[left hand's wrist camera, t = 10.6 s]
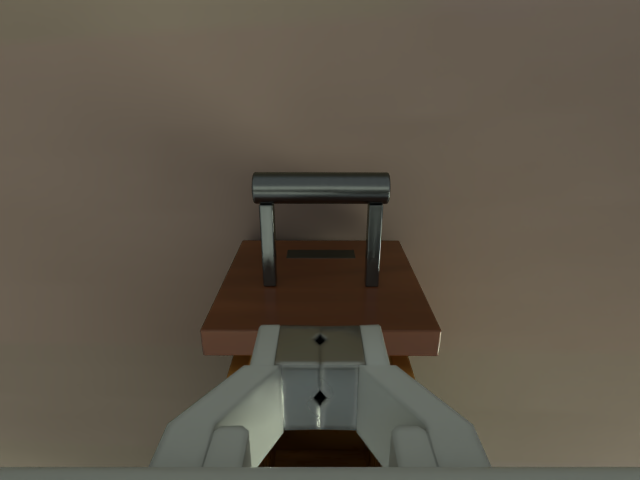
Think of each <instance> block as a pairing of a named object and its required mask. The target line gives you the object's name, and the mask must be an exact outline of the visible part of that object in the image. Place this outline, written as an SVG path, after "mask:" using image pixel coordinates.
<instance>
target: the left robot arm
mask: <svg viewBox="0 0 640 480" xmlns="http://www.w3.org/2000/svg"><path fill="white" fill-rule="evenodd" d="M317 429H322V430H357V433H358V435H359V436H360V437H361V439H362V440H363V441H364V443H365V444H366V445H367V447H368V448H369V449H370V451H371V452H372V453H373V455H374V456H375V457H376V459H377V460H378V461H379V463H380V464H381V465H382V467H258V466H259V464H260V463H261V462H262V460H263V459H264V458H265V456H266V455H267V454H268V452H269V451H270V450H271V448H272V447H273V446H274V444H275V443H276V442H277V441H278V439H279V438H280V437H281V435H282V434H283V433H284V432H283V430H317ZM0 480H640V467H491V465H490V463H489V460H488V458H487V456H486V453H485V451H484V449H483V447H482V444H481V442H480V440H479V437H478V435H477V433H476V431H475V428H474V426H473V424H472V423H470V422H469V421H468V420H466V419H465V418H464V417H462V416H461V415H460V414H459V413H457V412H456V411H455V410H453V409H452V408H451V407H450V406H448V405H447V404H446V403H444V402H443V401H442V400H440V399H439V398H438V397H437V396H435V395H434V394H433V393H431V392H430V391H429V390H427V389H426V388H425V387H424V386H422V385H421V384H420V383H418V382H417V381H416V380H415V379H413V378H412V377H411V376H409V375H408V374H407V373H405V372H404V371H403V370H402V369H400V368H399V367H398V366H396V365H390V362H389V358H388V354H387V350H386V346H385V342H384V338H383V334H382V330H381V326H380V325H379V324H378V325H355V326H311V325H281V326H280V325H261V326H260V327H259V329H258V334H257V338H256V342H255V346H254V350H253V354H252V358H251V362H250V365H244V366H242V367H241V368H240V369H238V370H237V371H236V372H235V373H233V374H232V375H231V376H229V377H228V378H227V379H225V380H224V381H223V382H222V383H220V384H219V385H218V386H216V387H215V388H214V389H212V390H211V391H210V392H209V393H207V394H206V395H205V396H203V397H202V398H201V399H199V400H198V401H197V402H195V403H194V404H193V405H192V406H190V407H189V408H188V409H186V410H185V411H184V412H182V413H181V414H180V415H179V416H177V417H176V418H175V419H173V420H172V421H171V422H169V423H168V424H167V426H166V429H165V431H164V433H163V435H162V438H161V440H160V442H159V444H158V447H157V449H156V451H155V454H154V456H153V458H152V460H151V463H150V465H149V467H0Z"/></svg>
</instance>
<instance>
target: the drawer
mask: <svg viewBox="0 0 640 480" xmlns="http://www.w3.org/2000/svg"><path fill="white" fill-rule="evenodd" d="M252 196H253V201H254V203H256V204H260V205H259V214H260V233H261V240H244V241H242V243H241V245H240V248H239V250H238V252H237V254H236V256H235V258H234V260H233V262H232V265H231V267H230V269H229V271H228V273H227V275H226V277H225V279H224V281H223V284H222V286H221V288H220V290H219V292H218V294H217V296H216V298H215V300H214V303H213V305H212V307H211V309H210V311H209V313H208V315H207V317H206V320H205V322H204V324H203V326H202V328H201V330H200V333H201V341H202V349H203V354H204V355H234V356H233V359H232V362H231V365H230V369H229V372H228V375H227V378H228V377H229V376H231V375H232V374H233V373H235V372H236V371H237V370H238V369H240V368H241V367H242V366H244V365H250V362H251V358H252V354H253V350H254V346H255V342H256V338H257V334H258V329H259V327H260V326H261V325H280V326H281V325H311V326H355V325H378V324H379V325H380V326H381V330H382V334H383V338H384V342H385V346H386V350H387V354H388V358H389V362H390V365H396V366H398V367H399V368H400V369H402V370H403V371H404V372H405V373H407V374H408V375H409V376H411V377H412V378H413V379H415V377H414V374H413V371H412V368H411V364H410V361H409V358H408V356H438V354H439V347H440V339H441V329H440V327H439V325H438V323H437V321H436V318H435V316H434V314H433V312H432V310H431V308H430V306H429V304H428V302H427V299H426V297H425V295H424V293H423V291H422V289H421V287H420V285H419V282H418V280H417V278H416V276H415V274H414V272H413V270H412V268H411V266H410V263H409V261H408V259H407V257H406V255H405V253H404V251H403V249H402V246H401V244H400V242H399V241H381V233H382V217H383V204H387V203H388V201H389V198H390V176H389V173H377V172H255V173H254V174H253V177H252ZM274 204H368V211H367V233H366V241H276V235H275V211H274ZM227 378H226V379H227ZM283 432H284V433H283V434H282V435H281V437H280V438H279V439H278V441H277V442H276V443H275V444H274V446H273V447H272V448H271V450H270V451H269V452H268V454H267V455H266V456H265V458H264V459H263V460H262V462H261V463H260V464H259V466H258V467H382V465H381V464H380V463H379V461H378V460H377V459H376V457H375V456H374V455H373V453H372V452H371V451H370V449H369V448H368V447H367V445H366V444H365V443H364V441H363V440H362V439H361V437H360V436H359V435H358V433H357V430H322V429H317V430H283Z"/></svg>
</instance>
